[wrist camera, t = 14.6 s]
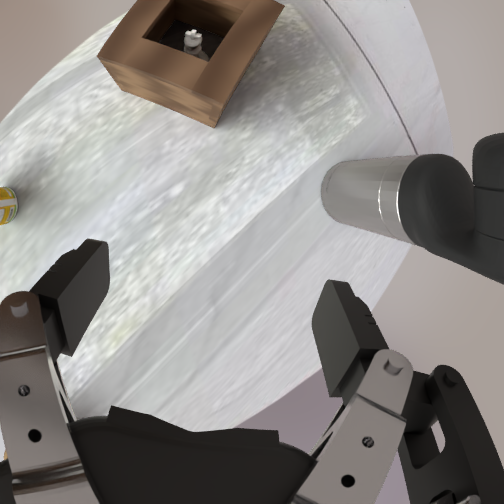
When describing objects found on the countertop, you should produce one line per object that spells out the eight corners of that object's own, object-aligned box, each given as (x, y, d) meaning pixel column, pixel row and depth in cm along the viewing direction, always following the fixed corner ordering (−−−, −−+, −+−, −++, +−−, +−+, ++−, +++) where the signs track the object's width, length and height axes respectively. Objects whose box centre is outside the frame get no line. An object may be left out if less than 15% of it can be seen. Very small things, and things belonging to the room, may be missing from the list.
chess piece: (203, 85, 35) (208, 54, 25) (168, 76, 33) (162, 44, 24) (215, 55, 34) (223, 20, 24) (181, 47, 33) (179, 10, 23)
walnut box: (260, 48, 35) (285, 5, 23) (214, 128, 36) (223, 104, 25) (172, 13, 31) (170, -36, 19) (121, 90, 33) (96, 55, 21)
